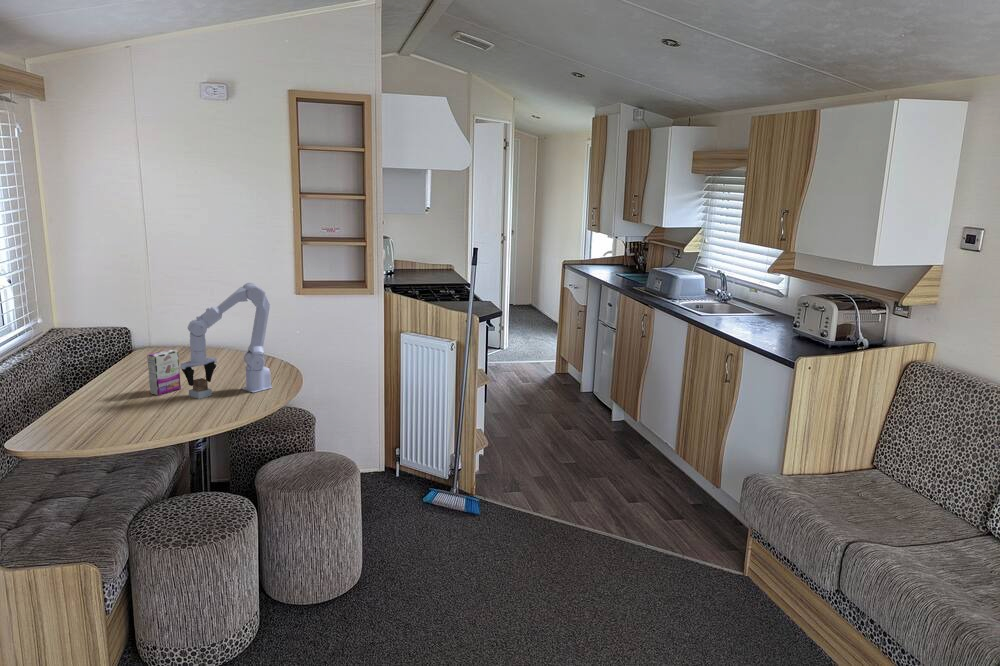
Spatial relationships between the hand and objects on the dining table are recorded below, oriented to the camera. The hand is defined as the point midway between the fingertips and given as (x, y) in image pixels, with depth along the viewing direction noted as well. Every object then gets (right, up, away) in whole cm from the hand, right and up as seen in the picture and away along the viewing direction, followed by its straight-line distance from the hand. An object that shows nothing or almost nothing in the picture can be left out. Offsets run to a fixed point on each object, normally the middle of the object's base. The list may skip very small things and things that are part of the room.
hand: (199, 383), depth 282 cm
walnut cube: (0, -3, +1) cm, 3 cm away
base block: (0, -6, +1) cm, 6 cm away
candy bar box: (-16, -4, +5) cm, 17 cm away
